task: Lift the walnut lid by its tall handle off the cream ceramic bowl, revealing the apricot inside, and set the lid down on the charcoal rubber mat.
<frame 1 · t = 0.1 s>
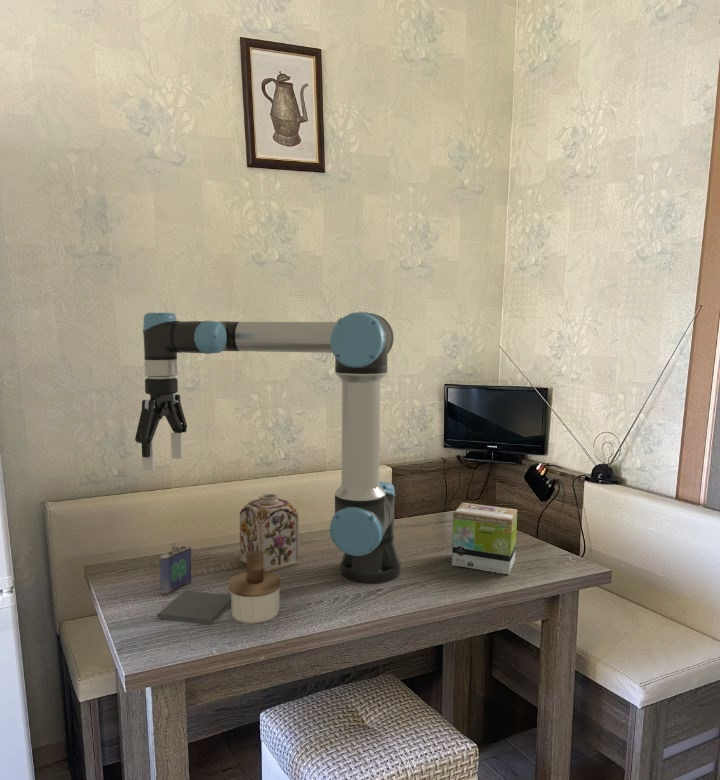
hand: (163, 464, 153), 28 cm above the table, tool pointing down, fingers open, 13 cm apart
bowl: (255, 612, 135), on the table
apricot: (255, 599, 135), in the bowl, point 3 cm above the table
flask: (175, 588, 148), on the table
tea box: (483, 565, 163), on the table
lid: (255, 585, 135), point 6 cm above the table, touching bowl
decorative jar: (269, 563, 164), on the table
mat: (197, 608, 137), on the table
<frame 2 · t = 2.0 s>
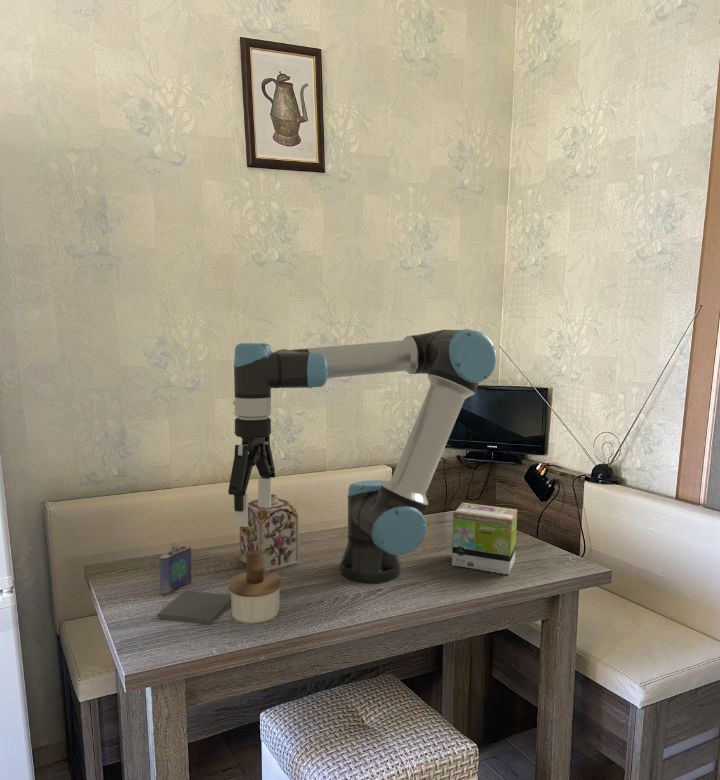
hand: (253, 516, 133), 21 cm above the table, tool pointing down, fingers open, 13 cm apart
nothing on the table moved.
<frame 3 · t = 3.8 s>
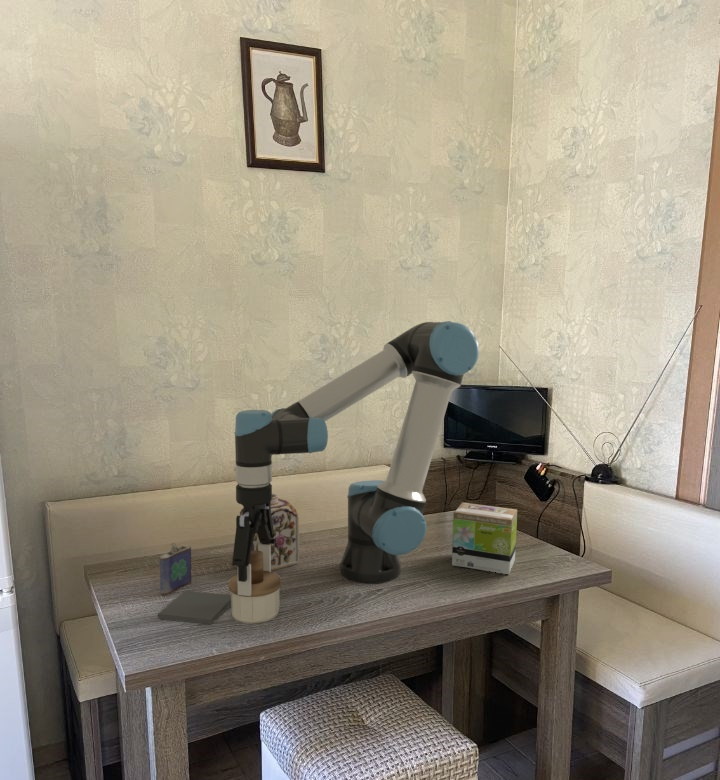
hand: (255, 583, 135), 7 cm above the table, tool pointing down, fingers closed on lid, 11 cm apart
lid: (255, 585, 135), point 6 cm above the table, touching bowl, gripper
everything else where it was.
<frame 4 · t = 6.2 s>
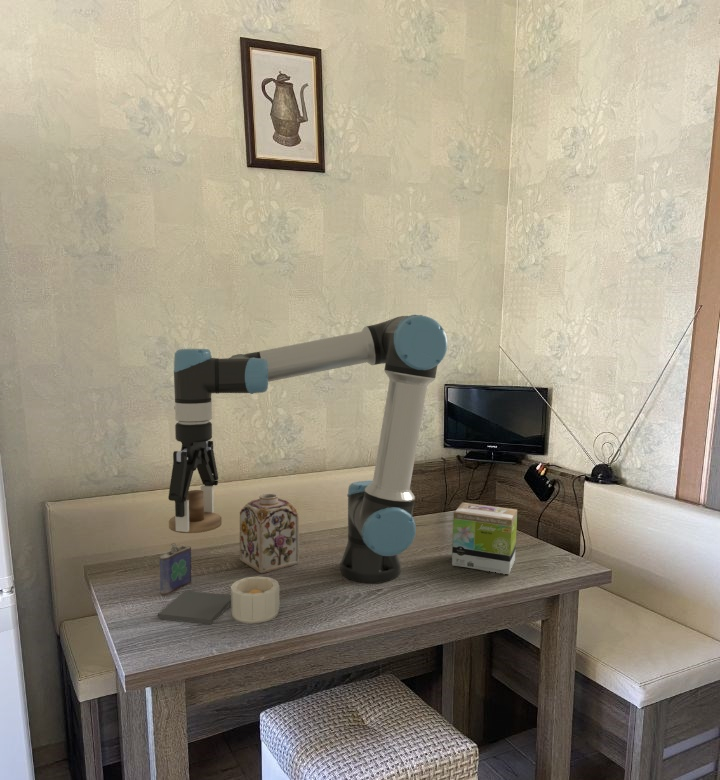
hand: (195, 522, 135), 19 cm above the table, tool pointing down, fingers closed on lid, 11 cm apart
lid: (195, 524, 135), point 19 cm above the table, touching gripper
everything else where it was.
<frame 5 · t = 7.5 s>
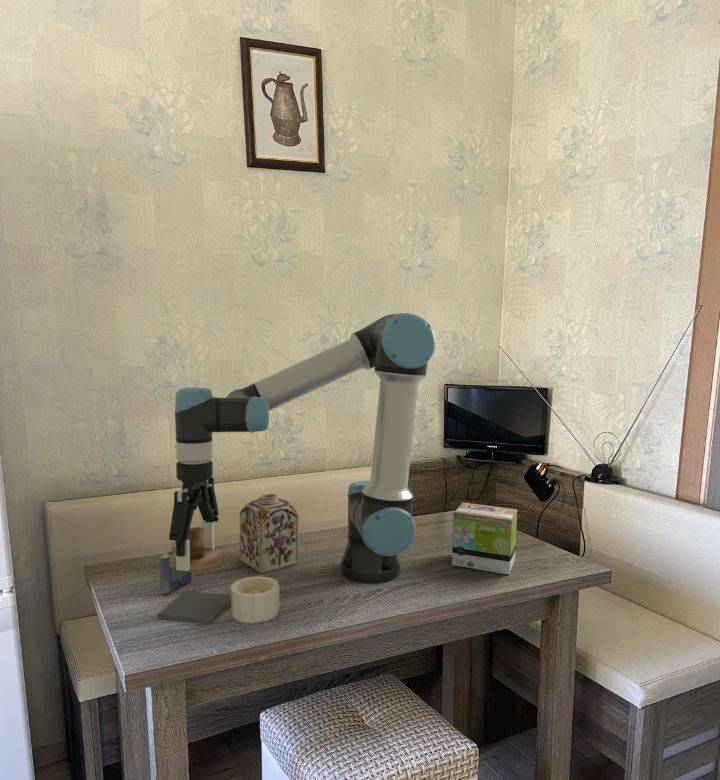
hand: (195, 559, 136), 11 cm above the table, tool pointing down, fingers closed on lid, 11 cm apart
lid: (195, 562, 136), point 11 cm above the table, touching gripper
everything else where it was.
when the fingers open (9 cm above the table, at t = 8.6 s): lid drops 7 cm, resting on mat.
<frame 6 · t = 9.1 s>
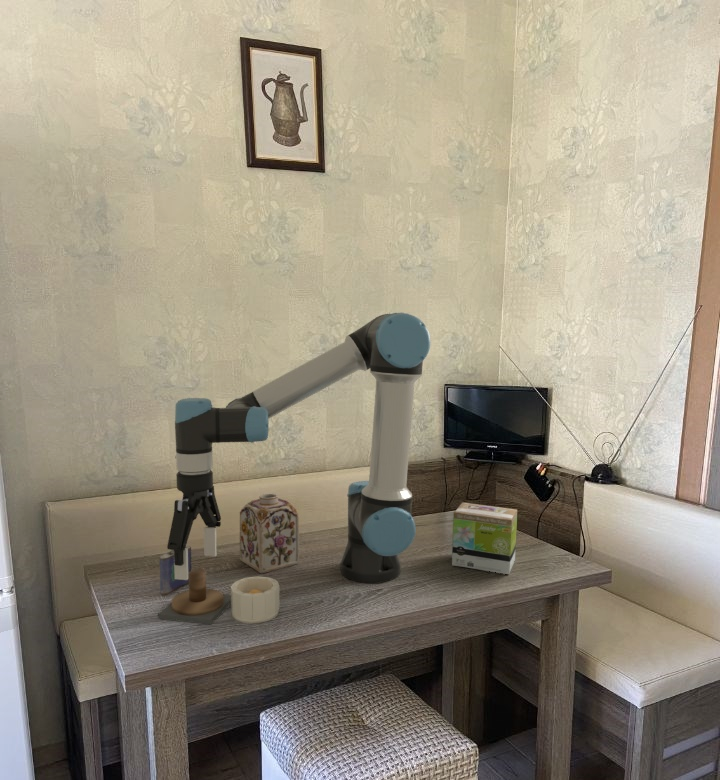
hand: (196, 566, 136), 10 cm above the table, tool pointing down, fingers open, 13 cm apart
lid: (197, 604, 137), point 1 cm above the table, touching mat
everything else where it was.
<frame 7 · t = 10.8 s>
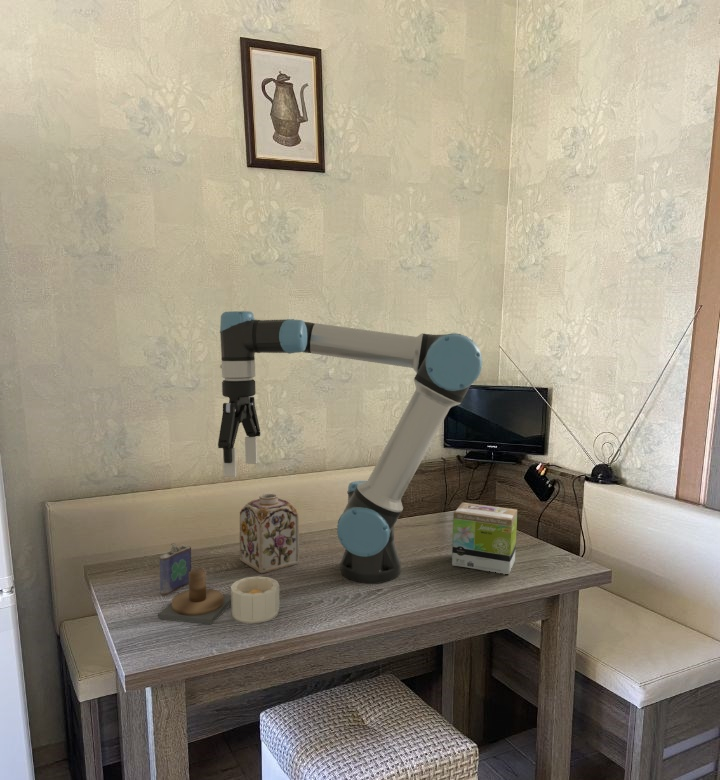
hand: (241, 469, 146), 28 cm above the table, tool pointing down, fingers open, 13 cm apart
nothing on the table moved.
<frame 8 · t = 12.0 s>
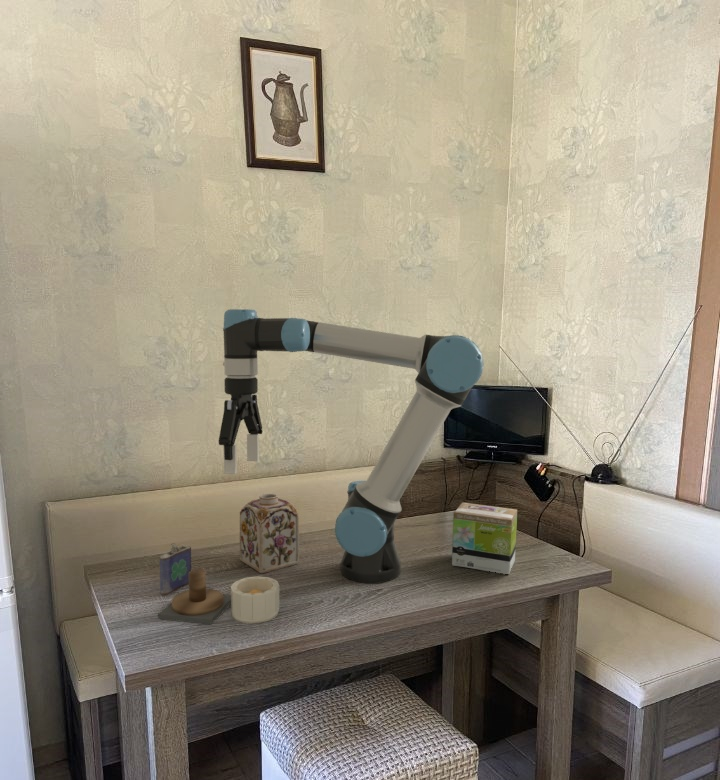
hand: (242, 467, 147), 29 cm above the table, tool pointing down, fingers open, 13 cm apart
nothing on the table moved.
at the end: lid inside the target area on the mat (0.2 cm from its centre), point 1.0 cm above the mat's base; lid touching mat; the gripper is holding nothing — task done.
